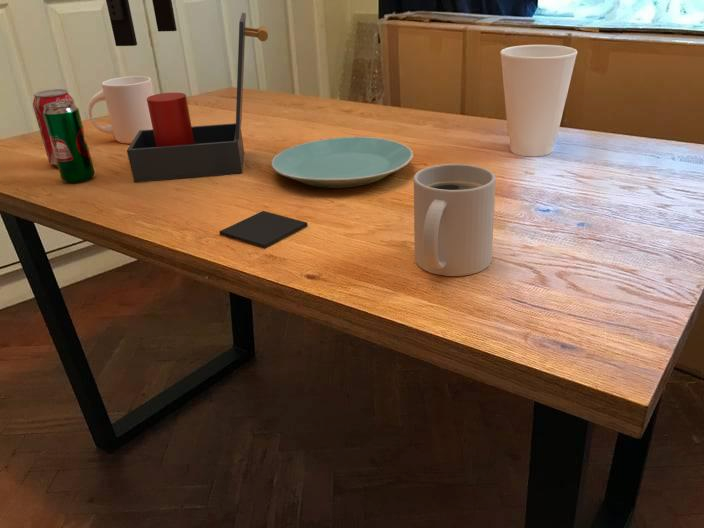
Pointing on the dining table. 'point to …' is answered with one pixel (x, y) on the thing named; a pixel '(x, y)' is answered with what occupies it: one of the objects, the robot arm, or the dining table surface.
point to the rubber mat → (263, 229)
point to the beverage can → (38, 106)
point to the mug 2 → (454, 218)
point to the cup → (535, 95)
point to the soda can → (68, 141)
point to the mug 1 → (125, 106)
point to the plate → (342, 161)
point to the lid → (243, 31)
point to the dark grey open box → (187, 155)
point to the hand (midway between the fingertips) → (148, 38)
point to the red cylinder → (170, 119)
